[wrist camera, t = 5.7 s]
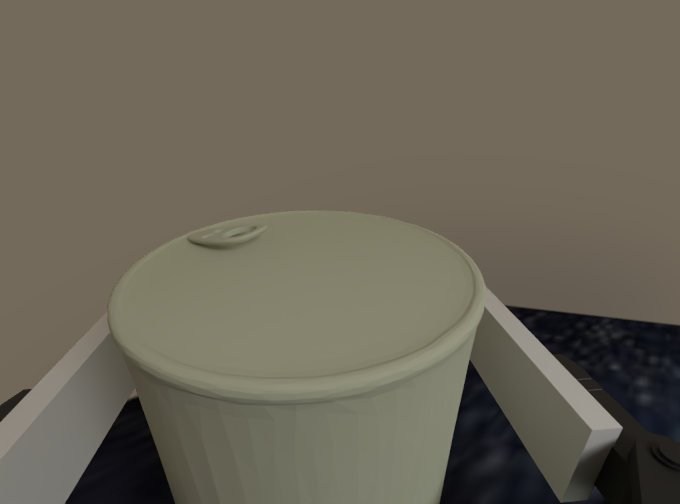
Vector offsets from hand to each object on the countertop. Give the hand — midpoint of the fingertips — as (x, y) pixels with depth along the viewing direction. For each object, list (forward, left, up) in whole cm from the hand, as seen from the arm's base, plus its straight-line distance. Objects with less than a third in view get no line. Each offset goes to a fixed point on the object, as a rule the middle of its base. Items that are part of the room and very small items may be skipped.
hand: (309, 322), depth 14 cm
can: (0, +3, -7) cm, 8 cm away
